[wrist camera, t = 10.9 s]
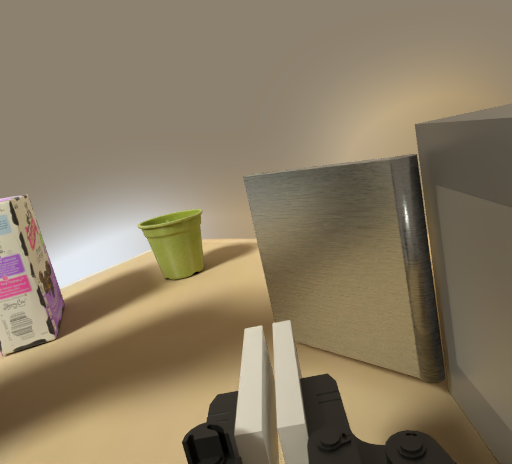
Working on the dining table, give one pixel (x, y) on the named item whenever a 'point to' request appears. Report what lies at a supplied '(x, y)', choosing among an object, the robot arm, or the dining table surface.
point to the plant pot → (176, 242)
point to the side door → (351, 261)
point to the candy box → (25, 280)
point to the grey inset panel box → (473, 261)
